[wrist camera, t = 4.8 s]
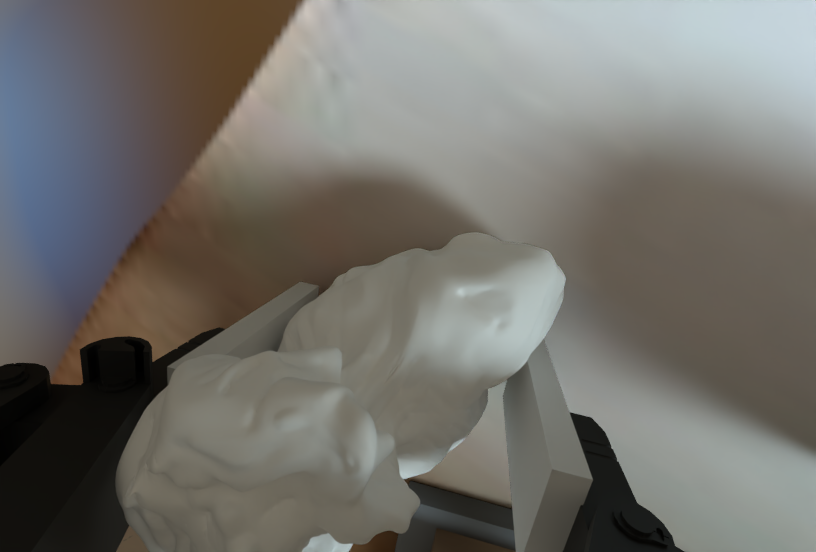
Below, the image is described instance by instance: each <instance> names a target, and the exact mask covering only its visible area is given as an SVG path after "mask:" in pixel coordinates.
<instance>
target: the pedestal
mask: <svg viewBox="0 0 816 552" xmlns="http://www.w3.org/2000/svg"><path fill="white" fill-rule="evenodd" d="M409 488H410V489H411V490H412V491H414V492H415V493H416V495H417V496H418V497H419V499H420V505H419V507H418V509H417V511H416V512H415V513H414V515H413V516H412V518H411V521H410V525H409V528H408V530H407V531H406V532H405V533H402V534H398V539H397V543H396V548H395V552H516V547H515V535H514V523H513V512H512V510H511V509H508V508H504V507H501V506H497V505H494V504H490V503H487V502H483V501H480V500H476V499H472V498H469V497H465V496H462V495H458V494H455V493H451V492H448V491H444V490H441V489H437V488H434V487H430V486H427V485H423V484H419V483H416V482H412V481H410V482H409Z"/></svg>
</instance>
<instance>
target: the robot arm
mask: <svg viewBox="0 0 816 552" xmlns="http://www.w3.org/2000/svg"><path fill="white" fill-rule="evenodd" d="M318 292H319V286H318V285H314V284H309V283H305V282H299V283H297V284H296V285H294V286H293V287H291V288H289V289H288V290H286V291H285V292H283V293H282V294H280V295H279V296H277V297H275V298H274V299H272V300H271V301H269V302H268V303H266V304H264V305H263V306H261V307H260V308H258V309H257V310H255V311H254V312H252V313H250V314H249V315H247V316H246V317H244V318H243V319H241V320H239V321H238V322H236V323H235V324H233V325H232V326H230V327H228V328H227V329H223V328H216V329H213V330H210V331H206V332H203V333H201V334H199V335H198V336H196V337H194V338H193V339H191V340H189V342H188V343H187V342H186V343H184V344H183V345H181V346H179V347H178V349H174V350H172V351H171V352H169V353H167V354H166V355H164V356H162V357H161V358H159V359H157V360H156V361H154V362H152V346H151V345H150V343H149V342H148V341H146V340H144V339H142V338H136V337H113V338H108V339H102V340H99V341H96V342H93V343H90V344H88V345H87V346H85V347H83V348H82V349H80V356H81V365H82V374H83V384H82V385H58V384H51V383H50V375H49V371H48V370H47V368H46V367H45V366H42V365H39V364H33V363H16V364H6V365H3V366H0V552H116V551H117V549H118V547H119V545H120V543H121V541H122V539H123V537H124V535H125V533H126V531H127V529H128V527H129V524H128V523H127V521H126V518H125V515H124V511H123V509H122V507H121V505H120V503H119V500H118V497H117V494H116V487H115V478H116V471H117V467H118V463H119V460H120V458H121V455H122V453H123V451H124V449H125V447H126V444H127V442H128V440H129V438H130V436H131V434H132V432H133V430H134V429H135V427H136V425H137V423H138V421H139V419H140V418H141V416H142V414H143V412H144V411H145V409H146V408H147V406H148V405H149V404H150V403H151V402H152V401H153V399H154V398H155V397H156V396H157V395H158V394H159V393H160V392H161V391H163V390H164V389H165V388H166V387H167V386H168V385H169V382H170V379H171V376H172V374H173V372H174V370H175V369H176V368H177V367H178V366H179V365H180V364H182V363H183V362H185V361H187V360H189V359H193V358H197V357H199V356H203V355H209V354H221V355H229V356H234V357H238V358H240V359H241V360H242V359H244V358H247V357H251V356H254V355H257V354H259V353H262V352H265V351H275V352H278V349H279V347H280V344H281V341H282V340H283V334H284V331H285V329H286V327H287V325H288V323H289V321H290V320H291V319H292V318H293V316H294V315H295V314H296V313H297V312H298V310H299V309H300V308H302V307H303V306H304V305H306V304H308V303H310V302H312V301H313V300H315V299H316V298H317V297H318ZM503 405H504V417H505V429H506V441H507V452H508V464H509V476H510V488H511V500H512V512H513V523H514V535H515V547H516V552H684V551H682V550H681V549H679V548H677V547H676V546H675V544H674V541H673V538H672V535H671V534H670V533H669V531H668V530H667V528H666V527H665V525H664V524H663V523H662V522H661V521H660V520H659V519H658V518H657V517H656V516H655V515H653V514H652V513H651V512H650V511H649V510H647V509H645V508H644V507H642V506H641V505H639V504H638V503H637V502H636V499H635V497H634V495H633V493H632V491H631V488H630V486H629V484H628V482H627V480H626V477H625V475H624V473H623V471H622V469H621V466H620V464H619V462H617V458H616V455H615V453H614V451H613V449H611V444H610V442H609V440H608V438H607V436H606V433H605V432H604V431H603V429H602V428H601V427H600V426H599V425H598V424H597V423H596V422H595V421H594V420H593V419H592V418H591V417H586V416H582V415H578V414H574V413H570V412H569V410H568V407H567V404H566V401H565V398H564V395H563V392H562V390H561V387H560V384H559V381H558V378H557V375H556V372H555V369H554V367H553V364H552V361H551V358H550V355H549V352H548V349H547V346H546V344H545V341H544V339H543V340H542V342H541V343H540V344H539V345H538V346H537V347H536V349H535V350H534V351H533V352H532V353H531V354H530V356H529V358H528V360H527V362H526V363H525V364H524V365H523V366H522V367H521V369H519V370H518V371H517V372H516V373H515V374H514V375H512V376H511V377H510V378H508V379H507V383H506V386H505V390H504V393H503Z"/></svg>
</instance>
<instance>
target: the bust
mask: <svg viewBox="0 0 816 552" xmlns="http://www.w3.org/2000/svg"><path fill="white" fill-rule="evenodd" d="M565 281H566V277H565V274H564V273H563V271H562V270H561V268H560V267H559V266H558V265H557V264H556V262H555V260H554V258H553V256H552V255H551V253H550V252H549V251H548V250H545V249H542V248H539V247H536V246H532V245H529V244H523V243H515V242H502V241H500V240H498V239H497V238H495V237H494V236H491V235H487V234H483V233H478V232H472V233H464V234H460V235H458V236H455V237H454V238H452V239H451V241H450V242H449V243H448V244H447V245H446V246H445V247H443V248H442V249H440V250H432V251H428V250H425V249H421V248H414V249H410V250H407V251H404V252H401V253H399V254H396V255H393V256H390V257H388V258H386V259H385V260H383V261H382V262H380V263H377V264H374V265H368V266H359V267H354V268H351V269H350V270H348V271H347V272H346V273H345V274H342V275H339V276H338V277H337V278H336V279H335V280H334V282H333V284H332V285H331V286H330V287H329V288H328V289H327V290H326V291H325V292H324V293H322V294H321V295H320V296H318V297H317V298H316V299H315V300H313V301H312V302H310V303H308V304H306V305H304V306H303V307H302V308H300V309H299V310H298V312H297V313H296V314H295V315H294V316H293V318H292V319H291V320H290V321H289V323H288V325H287V327H286V329H285V331H284V334H283V340H282V341H281V344H280V347H279V349H278V352H275V351H265V352H262V353H259V354H257V355H254V356H251V357H247V358H244V359H242V360H241V359H240V358H238V357H234V356H229V355H221V354H209V355H203V356H199V357H197V358H193V359H189V360H187V361H185V362H183V363H182V364H180V365H179V366H178V367H177V368H176V369H175V370H174V372H173V374H172V376H171V379H170V382H169V385H168V386H167V387H166V388H165V389H164V390H163V391H161V392H160V393H159V394H158V395H157V396H156V397H155V398H154V399H153V401H152V402H151V403H150V404H149V405H148V406H147V408H146V409H145V411H144V412H143V414H142V416H141V418H140V419H139V421H138V423H137V425H136V427H135V429H134V430H133V432H132V434H131V436H130V438H129V440H128V442H127V444H126V447H125V449H124V451H123V453H122V455H121V458H120V460H119V463H118V467H117V471H116V478H115V487H116V494H117V497H118V500H119V503H120V505H121V507H122V509H123V511H124V515H125V518H126V521H127V523H128V524H129V526H130V527H131V528H132V529H133V530H134V531H135V532H136V533H137V535H138V536H139V537H140V538H141V539H142V541H143V542H144V544H145V546H146V548H147V549H148V550H149V551H150V552H349V550H350V548H351V547H352V545H353V544H360V545H363V544H367V543H368V542H370V540H371V539H372V538H373V537H374V536H375V535H377V534H379V533H381V532H384V531H394V532H396V533H399V534H402V533H405V532H406V531H407V530H408V528H409V525H410V521H411V518H412V516H413V515H414V513H415V512H416V511H417V509H418V507H419V505H420V499H419V497H418V496H417V495H416V493H415V492H414V491H412V490H411V489H410V488H409V487H408V485H407V483H406V482H405V481H404V480H403V479H407V478H410V477H413V476H417V475H420V474H423V473H426V472H428V471H430V470H431V469H432V468H433V467H434V466H435V465H437V464H439V463H440V462H441V461H442V460H443V459H444V457H445V456H446V455H447V453H448V452H449V451H451V450H452V449H454V448H455V447H456V446H457V445H459V444H460V443H461V442H462V441H463V440H464V439H465V438H466V437H467V436H468V435H469V433H470V432H471V430H472V429H473V428H474V426H475V425H476V424H477V422H478V421H479V419H480V418H481V416H482V414H483V412H484V410H485V408H486V405H487V402H488V397H487V396H488V388H491V387H494V386H496V385H498V384H500V383H502V382H503V381H505V380H507V379H508V378H510V377H511V376H512V375H514V374H515V373H516V372H517V371H518V370H519V369H521V367H522V366H523V365H524V364H525V363H526V362H527V360H528V358H529V356H530V354H531V353H532V352H533V351H534V350H535V349H536V347H537V346H538V345H539V344H540V343H541V342H542V340H543V339H544V337H545V336H546V334H547V333H548V331H549V329H550V328H551V326H552V324H553V322H554V320H555V318H556V316H557V313H558V311H559V309H560V307H561V304H562V301H563V296H564V290H563V288H564V285H565Z"/></svg>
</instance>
